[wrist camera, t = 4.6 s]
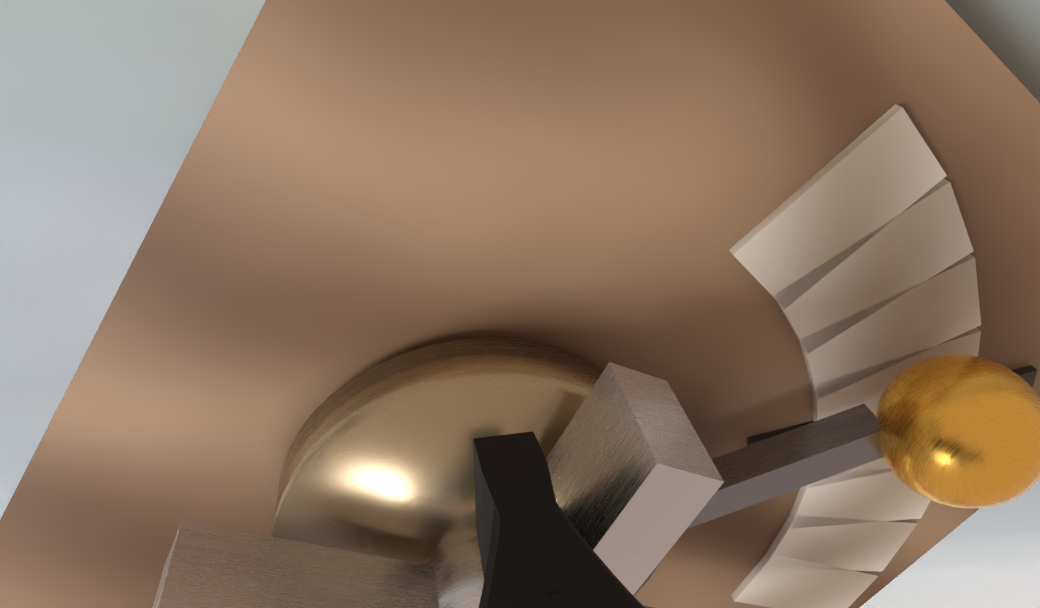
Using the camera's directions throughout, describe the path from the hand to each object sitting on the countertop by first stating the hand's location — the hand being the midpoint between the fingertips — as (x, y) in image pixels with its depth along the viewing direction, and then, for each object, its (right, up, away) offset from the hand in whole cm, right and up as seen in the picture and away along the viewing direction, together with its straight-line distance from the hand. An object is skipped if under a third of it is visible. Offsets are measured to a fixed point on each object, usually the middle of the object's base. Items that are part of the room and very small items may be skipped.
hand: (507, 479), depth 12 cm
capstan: (+1, -1, +4) cm, 5 cm away
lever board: (+2, 0, +6) cm, 6 cm away
